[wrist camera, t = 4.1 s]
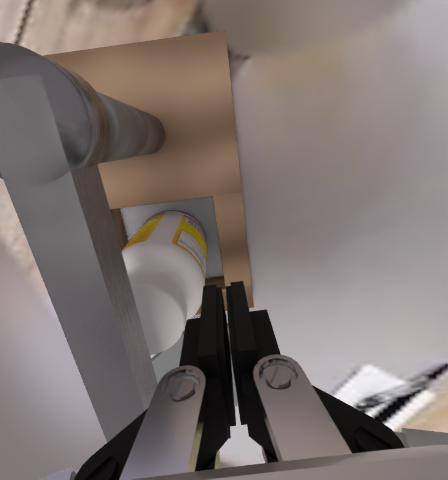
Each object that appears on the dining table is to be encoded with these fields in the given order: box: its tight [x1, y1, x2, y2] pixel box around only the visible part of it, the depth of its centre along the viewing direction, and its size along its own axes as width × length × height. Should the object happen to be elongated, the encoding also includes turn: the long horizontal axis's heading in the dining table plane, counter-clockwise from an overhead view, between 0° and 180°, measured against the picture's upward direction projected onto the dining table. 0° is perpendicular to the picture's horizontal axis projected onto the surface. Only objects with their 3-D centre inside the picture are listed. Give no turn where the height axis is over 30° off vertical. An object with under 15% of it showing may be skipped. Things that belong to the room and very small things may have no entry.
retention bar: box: [0, 42, 158, 443], centre depth 11 cm, size 18×4×2 cm, turn 7°
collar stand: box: [43, 30, 254, 315], centre depth 18 cm, size 23×14×15 cm, turn 7°
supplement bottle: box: [122, 211, 207, 355], centre depth 21 cm, size 7×7×13 cm
